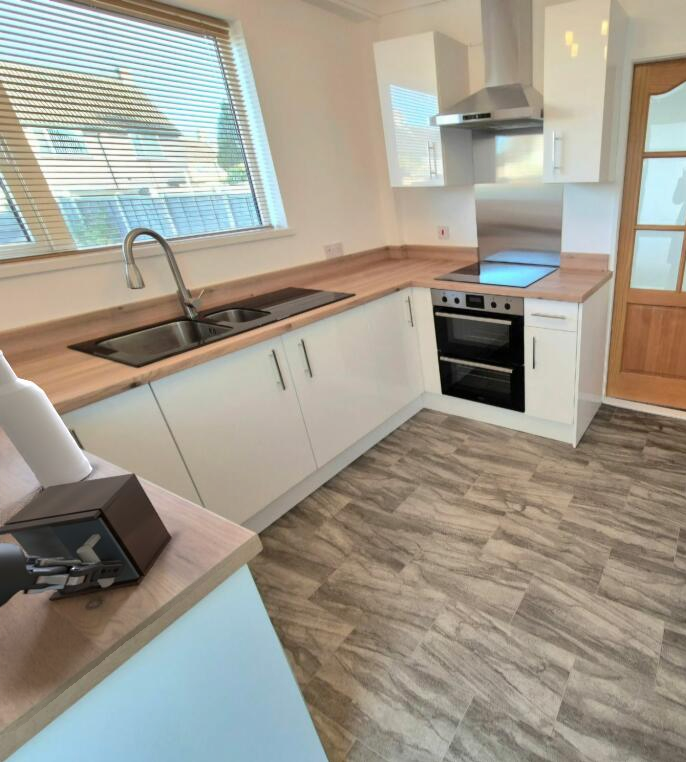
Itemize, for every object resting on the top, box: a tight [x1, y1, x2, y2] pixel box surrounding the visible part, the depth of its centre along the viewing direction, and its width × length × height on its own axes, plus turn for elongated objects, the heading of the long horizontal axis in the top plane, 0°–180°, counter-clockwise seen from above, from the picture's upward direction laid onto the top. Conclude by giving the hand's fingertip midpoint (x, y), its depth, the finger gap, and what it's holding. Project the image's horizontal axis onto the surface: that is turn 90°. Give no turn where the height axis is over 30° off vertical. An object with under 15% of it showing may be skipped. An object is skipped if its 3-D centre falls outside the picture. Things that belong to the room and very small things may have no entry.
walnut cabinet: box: [0, 472, 172, 602], centre depth 65 cm, size 12×10×14 cm
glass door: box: [51, 518, 139, 588], centre depth 61 cm, size 6×4×12 cm, turn 101°
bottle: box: [0, 349, 93, 490], centre depth 84 cm, size 8×8×30 cm
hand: (114, 567), depth 62 cm, fingers closed
